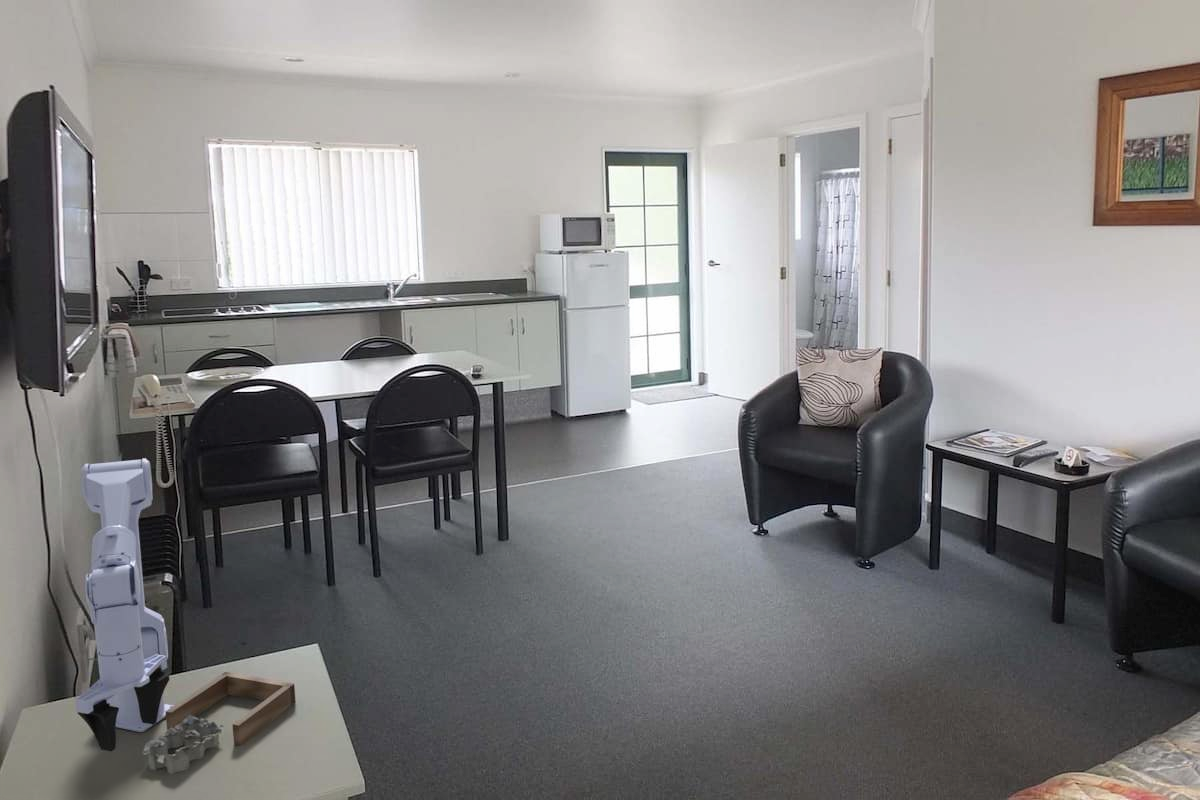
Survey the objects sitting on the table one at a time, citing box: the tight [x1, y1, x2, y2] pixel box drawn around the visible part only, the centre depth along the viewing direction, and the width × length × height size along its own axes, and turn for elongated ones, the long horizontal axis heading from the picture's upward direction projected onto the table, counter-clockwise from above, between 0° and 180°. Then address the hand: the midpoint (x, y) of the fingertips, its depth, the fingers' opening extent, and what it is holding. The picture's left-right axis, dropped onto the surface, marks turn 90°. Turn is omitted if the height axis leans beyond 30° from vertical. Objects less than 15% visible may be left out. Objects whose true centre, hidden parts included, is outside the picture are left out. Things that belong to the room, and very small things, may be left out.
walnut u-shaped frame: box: [165, 671, 296, 746], centre depth 155 cm, size 14×14×4 cm
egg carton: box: [142, 715, 224, 774], centre depth 144 cm, size 11×8×4 cm
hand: (129, 735), depth 133 cm, fingers open, 7 cm apart
